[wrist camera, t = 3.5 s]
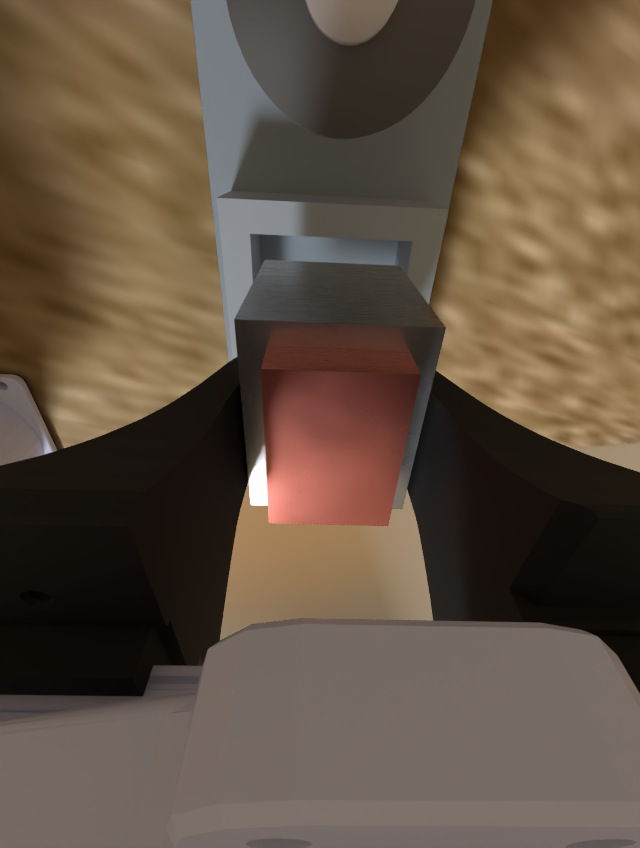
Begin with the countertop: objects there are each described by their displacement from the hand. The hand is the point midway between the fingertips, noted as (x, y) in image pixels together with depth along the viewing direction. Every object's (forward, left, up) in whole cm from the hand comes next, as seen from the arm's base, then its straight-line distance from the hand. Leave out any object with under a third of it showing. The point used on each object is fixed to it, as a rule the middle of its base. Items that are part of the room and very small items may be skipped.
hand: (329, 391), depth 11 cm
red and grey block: (0, 0, -2) cm, 3 cm away
